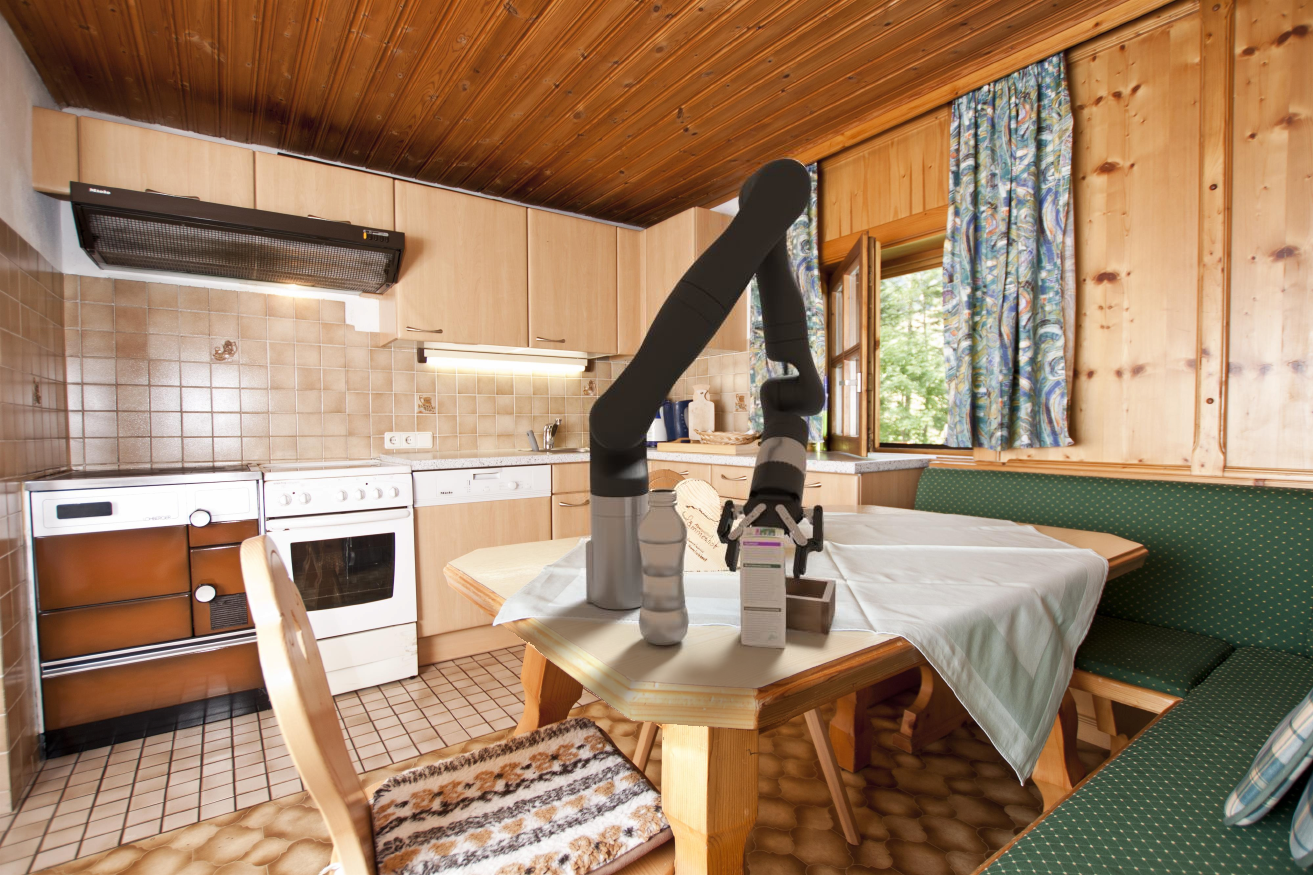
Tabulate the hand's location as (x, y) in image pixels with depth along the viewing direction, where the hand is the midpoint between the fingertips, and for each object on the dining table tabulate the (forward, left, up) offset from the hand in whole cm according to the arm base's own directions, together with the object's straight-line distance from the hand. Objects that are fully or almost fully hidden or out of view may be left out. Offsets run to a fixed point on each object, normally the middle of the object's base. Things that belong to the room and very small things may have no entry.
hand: (763, 572), depth 76 cm
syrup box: (0, 0, -9) cm, 9 cm away
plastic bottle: (-12, -5, -9) cm, 16 cm away
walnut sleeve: (+3, +10, -9) cm, 13 cm away
